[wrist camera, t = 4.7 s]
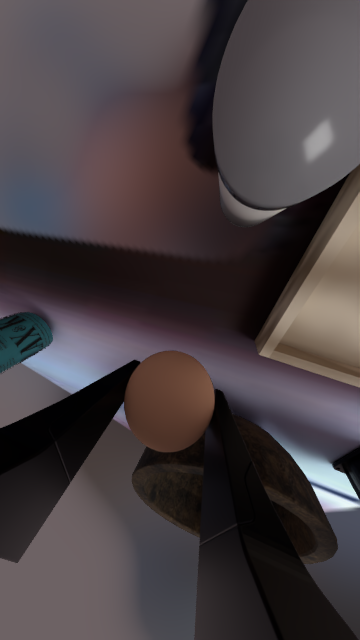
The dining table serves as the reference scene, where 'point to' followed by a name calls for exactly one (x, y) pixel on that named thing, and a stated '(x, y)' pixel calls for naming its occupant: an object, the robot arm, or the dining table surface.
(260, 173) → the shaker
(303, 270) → the tray
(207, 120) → the dining table surface
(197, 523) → the bowl
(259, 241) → the dining table surface
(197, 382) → the ball
